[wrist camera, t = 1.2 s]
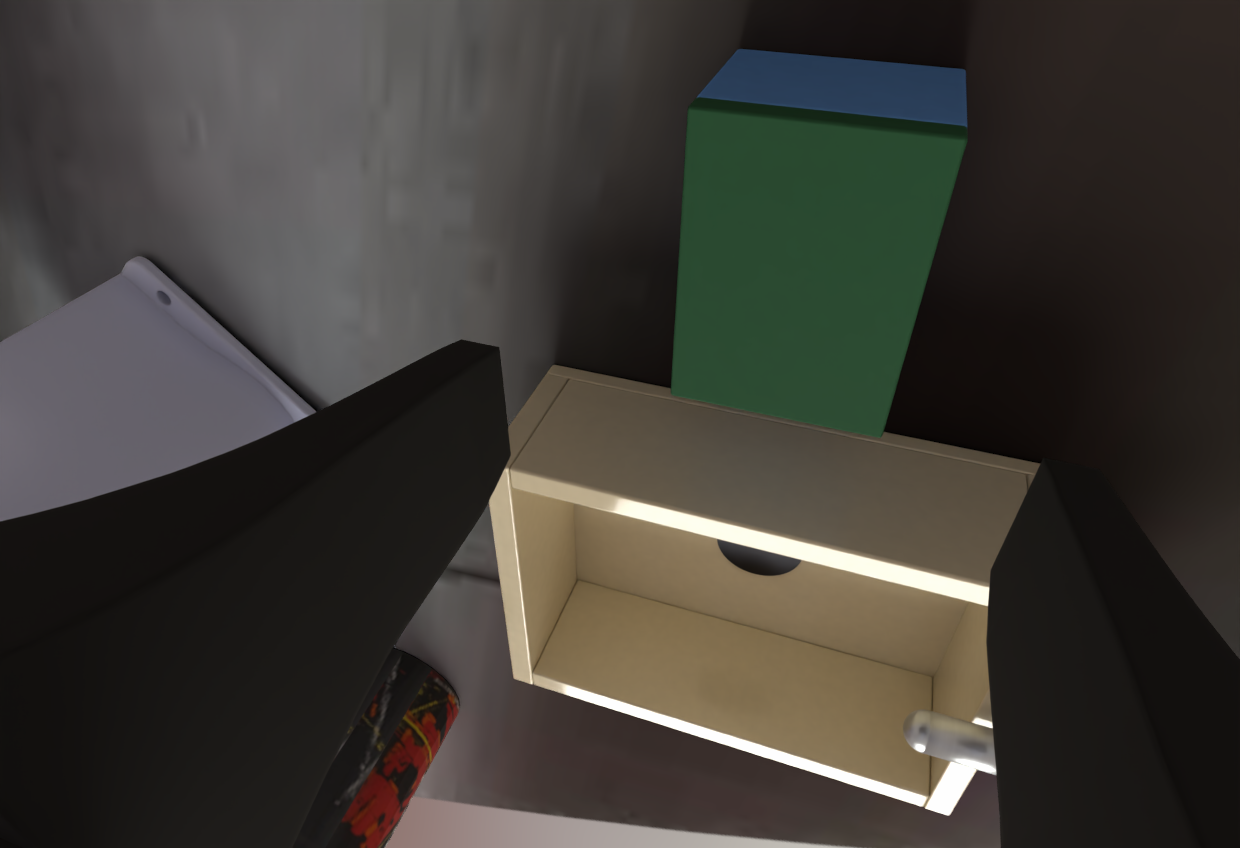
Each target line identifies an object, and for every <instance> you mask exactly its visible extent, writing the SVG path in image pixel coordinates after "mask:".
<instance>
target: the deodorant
mask: <svg viewBox="0 0 1240 848" xmlns="http://www.w3.org/2000/svg"><path fill="white" fill-rule="evenodd" d="M459 709H460V706H459V700H458V698H457V696H456V694H455V692H454V690H453V689H452V687H451V686H450V685H449V684H448V683H447V682H446V680H445V679H444V678H443V677H441V676H440V675H439V674H438V673H437V672H436V671H435V670H433V669H432V668H431V667H429V666H428V665H426V664H425V663H423V662H422V661H420V660H419V659H417V658H415V657H413V656H410V655H408V654H406V653H404V652H402V651H399V650H396V649H393V648H392V650H391V652H390V653H389V655H388V657H387V658H386V660H385V662H384V664H383V666H382V668H381V670H380V672H379V673H378V675H377V677H376V679H375V681H374V683H373V685H372V686H371V688H370V690H369V692H368V694H367V696H366V698H365V700H364V701H363V703H362V705H361V707H360V709H359V711H358V713H357V715H356V716H355V718H354V720H353V722H352V724H351V726H350V728H349V730H348V732H347V734H346V736H345V738H344V740H343V742H342V744H341V746H340V748H339V750H338V752H337V754H336V756H335V758H334V760H333V762H332V764H331V766H330V768H329V770H328V772H327V774H326V776H325V778H324V781H323V783H322V785H321V787H320V789H319V791H318V794H317V796H316V798H315V800H314V802H313V804H312V806H311V809H310V811H309V813H308V815H307V817H306V819H305V822H304V824H303V826H302V828H301V830H300V832H299V834H298V837H297V839H296V841H295V843H294V845H293V847H292V848H385V847H386V846H387V843H388V842H389V840H390V838H391V836H392V834H393V833H394V831H395V829H396V827H397V825H398V823H399V822H400V820H401V818H402V816H403V814H404V812H405V810H406V809H407V807H408V805H409V803H410V801H411V799H412V798H413V796H414V794H415V792H416V790H417V788H418V787H419V785H420V783H421V781H422V779H423V777H424V775H425V774H426V772H427V770H428V768H429V766H430V764H431V763H432V761H433V759H434V757H435V755H436V753H437V752H438V750H439V748H440V746H441V744H442V742H443V740H444V739H445V737H446V735H447V733H448V731H449V729H450V728H451V726H452V724H453V722H454V720H455V718H456V716H457V715H458V712H459Z"/></svg>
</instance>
